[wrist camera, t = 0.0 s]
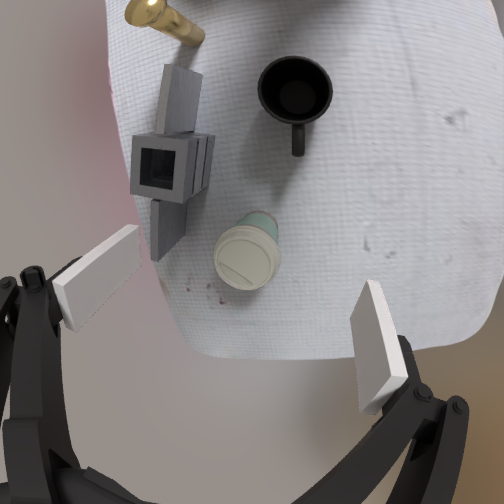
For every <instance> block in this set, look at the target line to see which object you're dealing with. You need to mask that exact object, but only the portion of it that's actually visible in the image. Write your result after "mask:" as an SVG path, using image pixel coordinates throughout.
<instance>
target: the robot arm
mask: <svg viewBox="0 0 504 504" xmlns="http://www.w3.org/2000/svg"><path fill="white" fill-rule="evenodd" d="M139 267H141V261H140V233H139V226H136V225H132V224H128V225H126V226H125V227H123V228H122V229H120V230H119V231H118V232H116V233H115V234H113V235H112V236H110V237H109V238H108V239H106V240H105V241H103V242H102V243H101V244H99V245H98V246H97V247H95V248H94V249H93V250H91V251H90V252H89V253H87V254H86V255H84V256H81V257H78V258H76V259H74V260H72V261H71V262H70V263H68V264H67V266H64V267H63V268H62V269H61V270H59V271H58V272H57V273H55V274H54V275H53V276H52V277H50V278H49V279H48V280H47V281H46V279H45V275H44V271H43V269H42V267H40V266H30V267H27V268H26V269H24V270H23V271H22V272H21V273H20V278H21V282H22V285H23V287H22V286H18V285H17V281H16V279H15V278H14V277H11V276H9V277H4V278H2V279H1V280H0V426H1V421H2V416H3V411H4V406H5V402H6V398H7V394H8V390H9V386H10V418H9V419H7V420H4V422H3V427H2V430H3V446H4V457H5V465H6V471H7V478H8V482H5V483H0V504H156V503H151V502H145V501H142V500H140V499H138V498H137V497H135V496H134V495H132V494H131V493H130V492H129V491H127V490H126V489H125V488H123V487H122V486H121V485H119V484H118V483H117V482H116V481H114V480H113V479H110V478H109V477H107V476H105V475H103V474H101V473H99V472H98V471H96V470H94V469H92V468H91V467H88V468H87V469H81V467H80V464H79V461H78V459H77V457H76V455H75V453H74V451H73V449H72V445H71V440H70V435H69V430H68V424H67V418H66V410H65V403H64V394H63V384H62V369H61V339H60V338H61V333H60V332H61V331H60V330H61V328H60V324H59V322H60V321H61V320H62V319H63V320H64V323H65V326H66V327H67V328H68V329H70V330H72V331H74V332H76V333H77V332H78V331H79V330H80V329H81V328H82V327H83V326H84V325H85V324H86V323H87V321H88V320H89V319H90V318H91V317H92V316H93V315H94V314H95V313H96V311H97V310H99V308H100V307H101V306H102V305H103V304H104V303H105V302H106V301H107V300H108V299H109V298H110V297H111V296H112V295H113V294H114V293H115V292H116V291H117V290H118V289H119V288H120V287H121V286H122V285H123V283H124V282H125V281H126V280H127V279H128V278H129V277H130V276H131V275H132V274H133V273H134V272H135V271H136V270H137V269H138V268H139ZM6 315H7V318H8V320H7V322H5V317H6ZM350 322H351V329H352V337H353V345H354V353H355V362H356V372H357V383H358V396H359V411H360V414H366V415H376V414H377V413H378V411H379V410H380V409H381V408H382V413H383V416H382V417H381V418H380V419H379V420H378V421H377V422H376V423H375V424H374V425H373V426H372V428H371V429H370V430H369V432H368V433H367V434H366V435H365V436H364V437H363V438H362V439H361V441H360V442H359V443H358V444H357V445H356V446H355V447H354V448H353V449H352V450H351V451H350V452H349V453H348V454H347V455H346V456H345V458H343V459H342V460H341V461H340V462H339V463H338V464H337V465H336V466H335V467H334V468H333V469H332V470H331V471H330V472H328V473H327V474H326V475H325V476H324V477H323V478H322V479H321V480H320V481H318V482H317V483H316V484H315V485H314V486H313V487H311V488H310V489H309V490H308V491H307V492H306V493H304V494H303V495H302V496H301V497H299V498H298V499H297V500H295V501H294V502H293V503H291V504H361V503H362V502H363V501H364V500H365V499H366V498H367V497H368V495H369V494H370V493H371V492H372V491H373V489H374V488H375V487H376V486H377V485H378V484H379V482H380V481H381V480H382V479H383V478H384V476H385V475H386V474H387V472H388V471H389V470H390V469H391V467H392V466H393V464H394V463H395V462H396V460H397V459H398V458H399V456H400V455H401V453H402V452H403V451H404V449H405V448H406V446H407V444H408V443H409V442H410V440H411V439H412V442H411V444H410V447H409V450H408V453H407V456H406V458H405V461H404V464H403V466H402V469H401V471H400V474H399V476H398V478H397V481H396V483H395V485H394V487H393V490H392V492H391V494H390V496H389V498H388V500H387V502H386V504H451V501H452V498H453V495H454V491H455V488H456V484H457V480H458V476H459V472H460V468H461V463H462V458H463V453H464V448H465V441H466V435H467V428H468V420H469V407H468V404H467V402H466V401H465V400H464V399H463V398H461V397H460V396H452V397H451V398H449V399H448V401H443V400H440V399H437V398H435V397H433V393H432V391H431V389H430V388H429V387H428V386H427V385H425V384H423V383H421V379H420V376H419V372H418V369H417V366H416V362H415V360H414V359H415V358H414V356H413V354H412V349H411V345H410V343H409V342H408V341H407V339H406V338H405V336H401V335H397V334H396V331H395V327H394V324H393V321H392V318H391V315H390V312H389V309H388V306H387V303H386V300H385V297H384V294H383V291H382V288H381V285H380V283H379V282H376V281H372V280H368V279H367V281H366V283H365V285H364V288H363V290H362V292H361V295H360V297H359V299H358V301H357V304H356V306H355V308H354V310H353V312H352V315H351V317H350ZM10 382H11V384H10Z"/></svg>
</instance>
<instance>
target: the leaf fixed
mask: <svg viewBox="0 0 504 504" xmlns="http://www.w3.org/2000/svg"><path fill="white" fill-rule="evenodd" d="M177 133H178V134H188V135H197V136H205V137H207V142H206V150H205V158H204V166H203V175H202V184H201V190H203V189H204V188H206V187H207V186H209V178H210V170H211V162H212V154H213V147H214V140H215V135H208V134H200V133H191V132H177ZM197 142H198V138H190V137H181V136H170V135H159V134H138V135H133V138H132V153H131V177H130V194H133V195H139V196H144V197H150V198H155V199H153V200H151V260H153V261H157V262H158V261H159V260H160V259H161V258H162V257H163V256H164V255H165V254H166V253H167V252H168V251H169V250H170V249H171V248H172V247H173V246H174V245H175V244H176V243H177V242H178V241H179V240H180V239H181V238H182V237H183V236H184V235H185V224H186V210H187V200H188V199H190V198H191V197H192V188H193V178H194V168H195V159H196V150H197ZM153 149H162V150H164V157H163V171H162V175H168V176H174V178H173V183H169V182H162V181H156V180H151V165H152V151H153ZM174 151H176V155H175V166H174V170H172V168H173V157H174Z"/></svg>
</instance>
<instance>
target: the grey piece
mask: <svg viewBox="0 0 504 504" xmlns="http://www.w3.org/2000/svg"><path fill="white" fill-rule="evenodd" d="M202 77H203V75H202V74H200V73H197V72H194V71H192V70H189V69H186V68H183V67H181V66H178V65H175V64H164V70H163V76H162V83H161V89H160V97H159V104H158V112H157V121H156V130H155V132H151V133H147V134H159V135H170V136H181V137H190V138H198V142H197V150H196V159H195V168H194V178H193V188H192V196H194V195H196V194H197V193H198V192H200V191H201V184H202V175H203V166H204V158H205V150H206V142H207V137H205V136H197V135H188V134H178V133H177V132H185V131H193V130H195V123H196V115H197V108H198V102H199V95H200V89H201V83H202ZM163 157H164V150H162V149H153V151H152V165H151V180H156V181H162V182H169V183H173V178H174V176H168V175H162V171H163Z"/></svg>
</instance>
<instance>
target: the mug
mask: <svg viewBox="0 0 504 504" xmlns="http://www.w3.org/2000/svg"><path fill="white" fill-rule="evenodd" d="M332 95H333V88H332V83H331V80H330V78H329V75H328V74H327V73H326V71H325V70H324V69H323V68H322V67H321V66H320V65H319V64H318V63H316V62H314V61H313V60H311V59H308V58H305V57H301V56H286V57H282V58H279V59H277V60H275V61H273V62H272V63H270V64H269V65H268V66H267V67H266V68H265V69H264V71H263V72H262V74H261V76H260V78H259V81H258V96H259V99H260V102H261V104H262V106H263V107H264V109H265V110H266V111H267V112H268V113H269V114H270V115H271V116H272V117H274V118H275V119H277V120H279V121H281V122H284V123H287V124H292V155H293V156H295V157H302V156H304V154H305V124H306V123H310V122H312V121H314V120H316V119H318V118H319V117H321V116H322V115H323V114H324V113H325V112H326V110H327V109H328V107H329V106H330V103H331V101H332Z"/></svg>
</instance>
